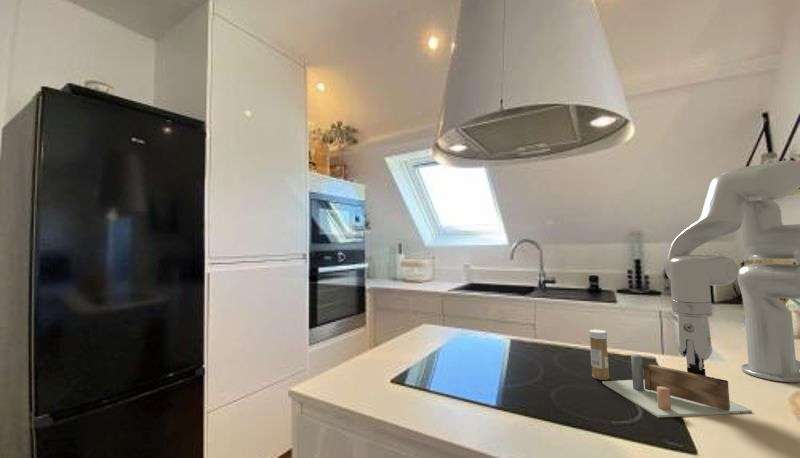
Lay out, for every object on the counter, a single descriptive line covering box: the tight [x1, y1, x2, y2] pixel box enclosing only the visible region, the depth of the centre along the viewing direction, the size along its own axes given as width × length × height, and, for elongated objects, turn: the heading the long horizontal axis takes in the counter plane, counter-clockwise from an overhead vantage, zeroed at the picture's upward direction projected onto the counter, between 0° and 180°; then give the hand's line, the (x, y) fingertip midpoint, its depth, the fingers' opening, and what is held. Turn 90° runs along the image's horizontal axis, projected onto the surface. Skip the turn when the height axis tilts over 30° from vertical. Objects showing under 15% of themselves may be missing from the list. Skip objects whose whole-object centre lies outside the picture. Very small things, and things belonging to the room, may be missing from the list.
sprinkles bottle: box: [588, 329, 611, 381], centre depth 103 cm, size 5×5×13 cm
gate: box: [643, 362, 730, 411], centre depth 85 cm, size 16×2×6 cm, turn 36°
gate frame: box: [601, 354, 753, 419], centre depth 89 cm, size 22×20×9 cm
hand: (697, 384), depth 86 cm, fingers closed
